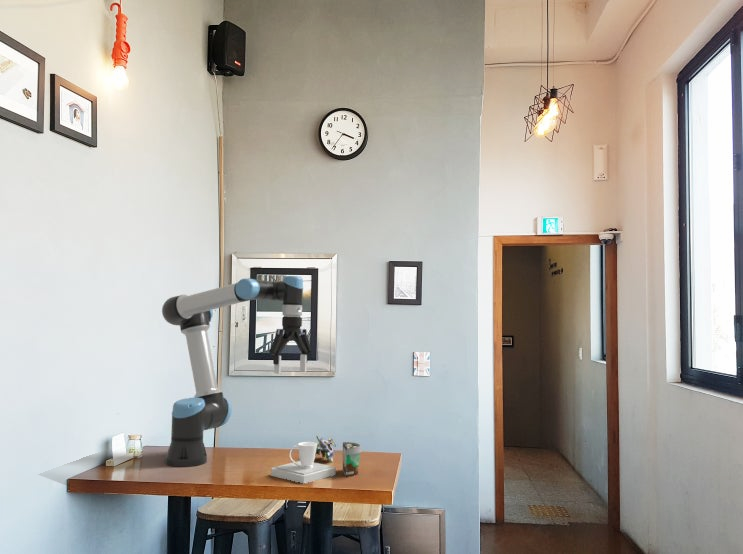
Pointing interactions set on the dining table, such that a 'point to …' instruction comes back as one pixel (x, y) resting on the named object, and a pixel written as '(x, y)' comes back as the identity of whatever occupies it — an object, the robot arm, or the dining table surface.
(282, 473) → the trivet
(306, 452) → the cup
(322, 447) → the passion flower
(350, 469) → the food container
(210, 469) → the dining table surface
